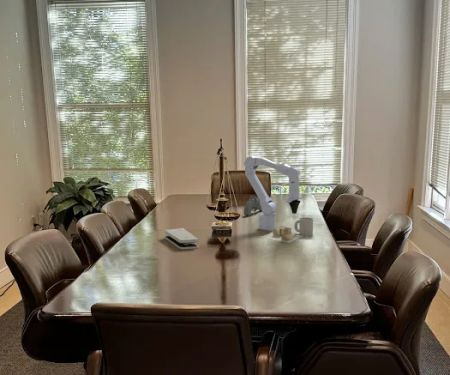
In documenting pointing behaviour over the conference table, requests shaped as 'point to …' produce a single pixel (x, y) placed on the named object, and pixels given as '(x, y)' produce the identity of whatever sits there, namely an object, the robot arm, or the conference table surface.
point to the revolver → (252, 205)
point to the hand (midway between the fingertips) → (294, 213)
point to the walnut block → (277, 231)
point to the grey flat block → (181, 238)
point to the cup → (304, 226)
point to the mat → (270, 235)
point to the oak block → (286, 234)
